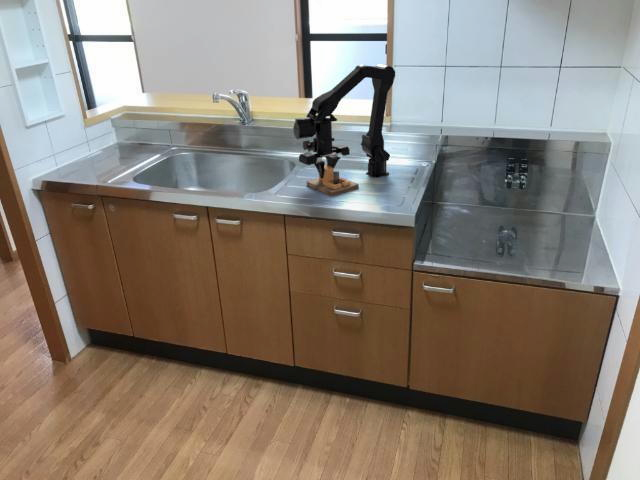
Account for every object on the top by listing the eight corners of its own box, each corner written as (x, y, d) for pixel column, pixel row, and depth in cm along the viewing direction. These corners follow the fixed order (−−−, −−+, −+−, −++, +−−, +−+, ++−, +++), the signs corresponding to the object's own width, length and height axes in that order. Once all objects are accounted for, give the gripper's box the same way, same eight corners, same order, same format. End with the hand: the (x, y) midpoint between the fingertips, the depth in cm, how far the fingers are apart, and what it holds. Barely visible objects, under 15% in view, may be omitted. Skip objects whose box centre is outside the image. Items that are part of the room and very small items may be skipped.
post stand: (358, 188, 183) (358, 171, 180) (331, 196, 177) (330, 179, 174) (333, 177, 194) (332, 162, 191) (306, 185, 188) (306, 169, 185)
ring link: (350, 184, 182) (350, 171, 180) (334, 189, 178) (334, 175, 176) (330, 176, 191) (329, 163, 189) (314, 180, 187) (314, 167, 185)
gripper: (331, 126, 191) (332, 166, 198) (289, 135, 182) (292, 177, 188) (350, 131, 183) (351, 173, 190) (306, 141, 173) (309, 185, 180)
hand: (325, 177), depth 187 cm, fingers closed on ring link, 3 cm apart
